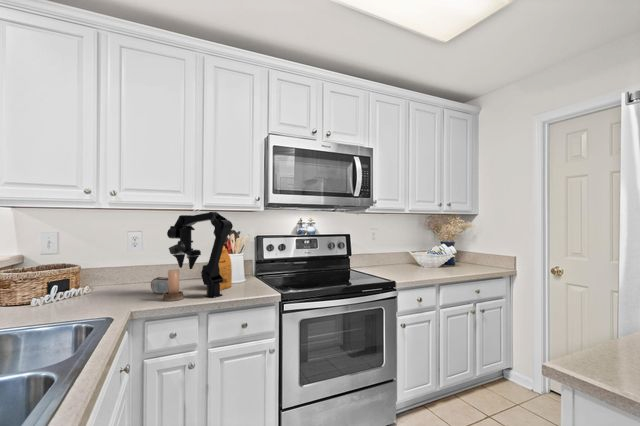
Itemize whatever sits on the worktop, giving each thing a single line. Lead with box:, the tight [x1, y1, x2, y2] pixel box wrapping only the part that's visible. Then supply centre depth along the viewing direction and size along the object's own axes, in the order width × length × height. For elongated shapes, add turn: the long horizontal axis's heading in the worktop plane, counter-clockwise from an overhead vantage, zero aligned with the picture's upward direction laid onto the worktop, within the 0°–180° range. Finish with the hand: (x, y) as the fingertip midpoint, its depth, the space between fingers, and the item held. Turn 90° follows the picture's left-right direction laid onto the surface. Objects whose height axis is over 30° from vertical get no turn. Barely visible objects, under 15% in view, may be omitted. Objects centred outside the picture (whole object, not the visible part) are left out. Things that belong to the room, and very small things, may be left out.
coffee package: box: [212, 248, 233, 291], centre depth 187 cm, size 10×12×22 cm
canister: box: [167, 269, 180, 295], centre depth 162 cm, size 5×5×13 cm
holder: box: [162, 290, 184, 302], centre depth 162 cm, size 9×9×3 cm
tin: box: [150, 276, 168, 295], centre depth 175 cm, size 15×3×8 cm, turn 74°
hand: (185, 268), depth 175 cm, fingers open, 9 cm apart
